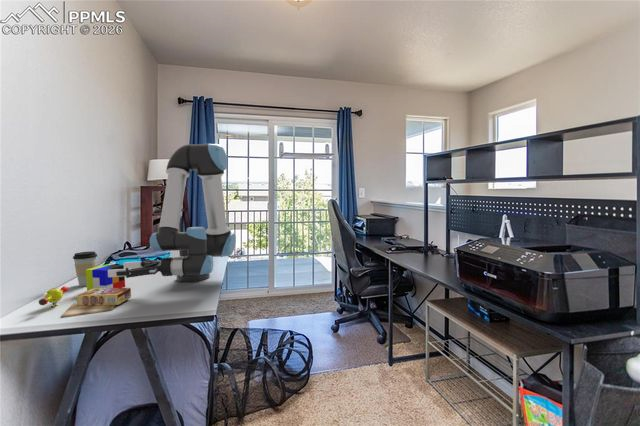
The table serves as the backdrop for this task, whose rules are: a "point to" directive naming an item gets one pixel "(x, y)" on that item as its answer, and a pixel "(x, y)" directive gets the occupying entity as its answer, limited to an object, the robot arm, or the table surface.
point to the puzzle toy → (103, 277)
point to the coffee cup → (84, 265)
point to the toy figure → (53, 296)
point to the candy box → (104, 296)
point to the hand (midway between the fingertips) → (116, 269)
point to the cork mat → (86, 309)
